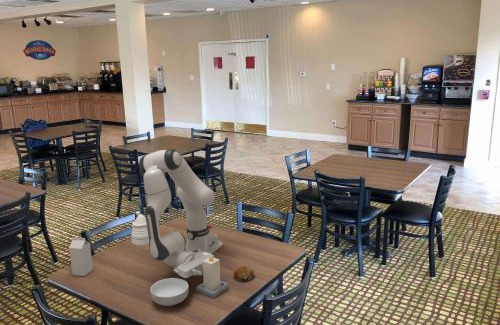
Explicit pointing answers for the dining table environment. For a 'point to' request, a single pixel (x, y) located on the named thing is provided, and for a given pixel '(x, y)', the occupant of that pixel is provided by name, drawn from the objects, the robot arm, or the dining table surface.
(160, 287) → the cereal bowl
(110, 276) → the dining table surface
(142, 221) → the honey pot
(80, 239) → the milk carton
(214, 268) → the juice box
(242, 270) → the bread roll
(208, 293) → the tray
